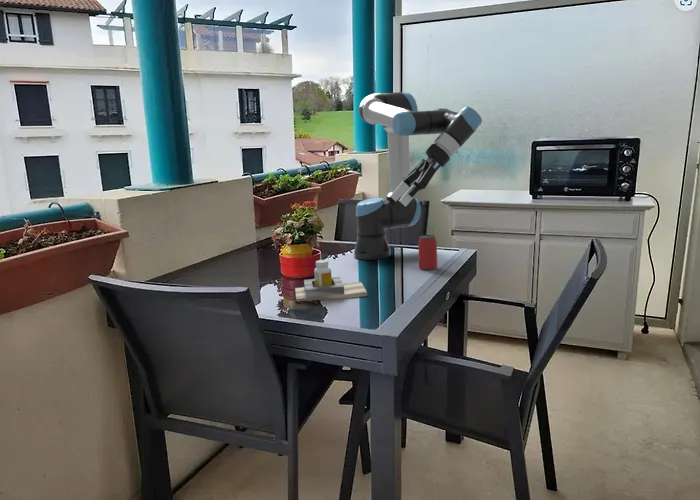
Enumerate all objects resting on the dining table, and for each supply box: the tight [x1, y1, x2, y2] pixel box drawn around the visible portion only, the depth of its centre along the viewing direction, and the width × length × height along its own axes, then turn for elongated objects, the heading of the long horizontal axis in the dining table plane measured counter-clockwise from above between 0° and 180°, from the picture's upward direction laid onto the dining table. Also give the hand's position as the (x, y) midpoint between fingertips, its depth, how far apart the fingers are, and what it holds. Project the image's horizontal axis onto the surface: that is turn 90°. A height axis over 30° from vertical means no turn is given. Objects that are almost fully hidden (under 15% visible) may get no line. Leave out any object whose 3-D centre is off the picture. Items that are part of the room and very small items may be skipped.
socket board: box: [294, 276, 368, 302], centre depth 162 cm, size 12×22×4 cm, turn 98°
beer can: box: [417, 234, 438, 271], centre depth 185 cm, size 7×7×12 cm
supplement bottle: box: [313, 259, 332, 287], centre depth 161 cm, size 5×5×10 cm
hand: (397, 201), depth 162 cm, fingers open, 13 cm apart
